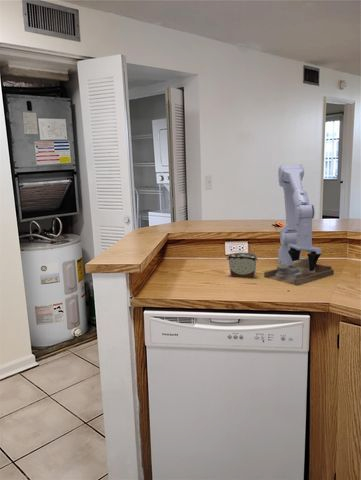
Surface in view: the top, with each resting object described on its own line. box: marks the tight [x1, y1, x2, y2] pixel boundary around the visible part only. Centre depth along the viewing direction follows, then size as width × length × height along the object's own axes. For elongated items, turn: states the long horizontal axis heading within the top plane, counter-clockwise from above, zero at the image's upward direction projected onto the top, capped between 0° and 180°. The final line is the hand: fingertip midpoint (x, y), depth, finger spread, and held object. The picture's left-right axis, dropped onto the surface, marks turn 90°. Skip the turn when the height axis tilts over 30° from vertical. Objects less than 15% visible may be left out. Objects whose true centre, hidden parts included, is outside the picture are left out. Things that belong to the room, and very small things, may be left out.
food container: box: [226, 252, 259, 280], centre depth 165 cm, size 12×6×10 cm, turn 65°
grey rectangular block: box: [292, 257, 315, 276], centre depth 164 cm, size 2×11×6 cm, turn 125°
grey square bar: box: [275, 265, 302, 282], centre depth 159 cm, size 10×4×4 cm, turn 35°
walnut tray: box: [263, 263, 335, 287], centre depth 162 cm, size 16×22×4 cm
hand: (303, 269), depth 164 cm, fingers open, 7 cm apart
